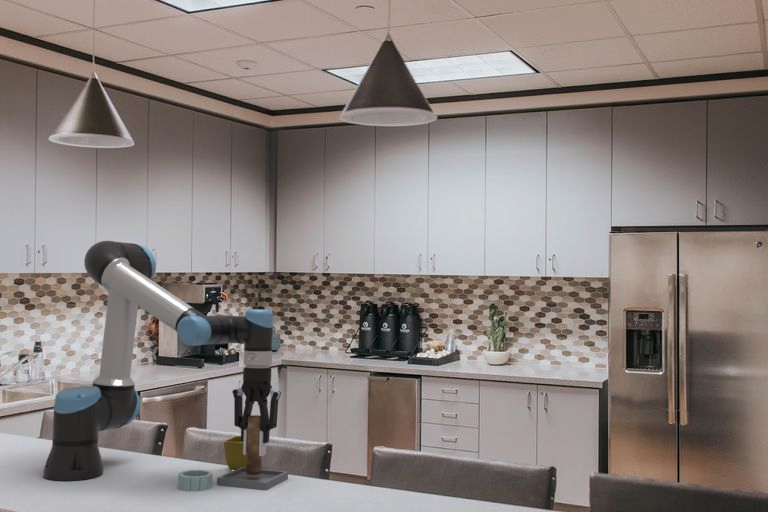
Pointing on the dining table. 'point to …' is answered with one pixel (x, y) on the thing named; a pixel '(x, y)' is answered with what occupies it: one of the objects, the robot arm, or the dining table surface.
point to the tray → (252, 479)
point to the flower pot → (235, 453)
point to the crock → (195, 480)
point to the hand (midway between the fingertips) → (254, 454)
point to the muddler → (253, 445)
